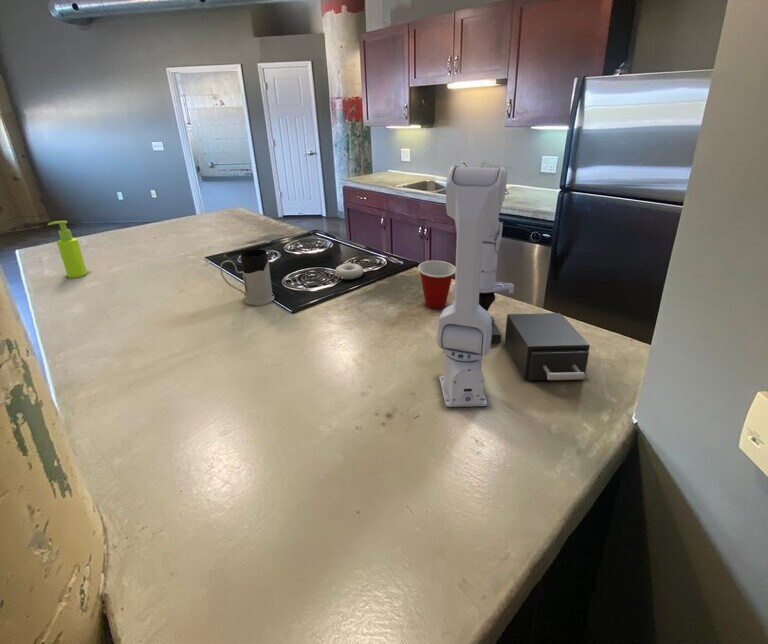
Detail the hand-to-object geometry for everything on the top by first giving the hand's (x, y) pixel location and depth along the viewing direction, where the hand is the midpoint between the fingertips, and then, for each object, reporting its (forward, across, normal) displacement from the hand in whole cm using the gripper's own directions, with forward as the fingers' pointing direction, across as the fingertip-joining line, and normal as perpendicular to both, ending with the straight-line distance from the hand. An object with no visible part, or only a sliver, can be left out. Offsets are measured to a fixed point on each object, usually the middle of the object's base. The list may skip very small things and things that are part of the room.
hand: (480, 318), depth 105 cm
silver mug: (+4, +65, -23) cm, 69 cm away
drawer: (+3, -11, +17) cm, 20 cm away
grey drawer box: (+4, -11, +13) cm, 17 cm away
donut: (+4, +36, -42) cm, 55 cm away
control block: (+4, 0, 0) cm, 4 cm away
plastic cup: (+4, +9, -17) cm, 20 cm away
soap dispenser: (+4, +136, -49) cm, 145 cm away
